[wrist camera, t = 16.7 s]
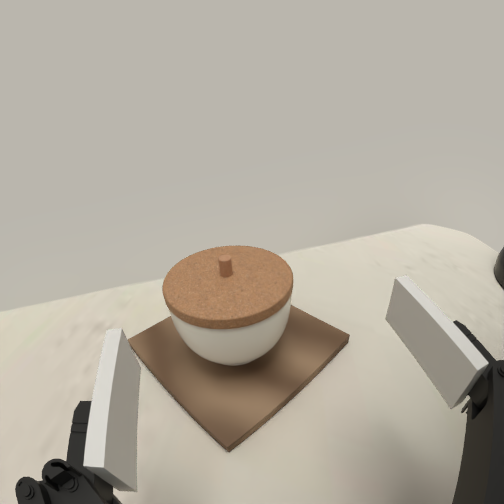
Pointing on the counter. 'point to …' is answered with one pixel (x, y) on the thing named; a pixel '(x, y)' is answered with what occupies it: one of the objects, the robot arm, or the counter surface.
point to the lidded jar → (230, 302)
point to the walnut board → (239, 374)
